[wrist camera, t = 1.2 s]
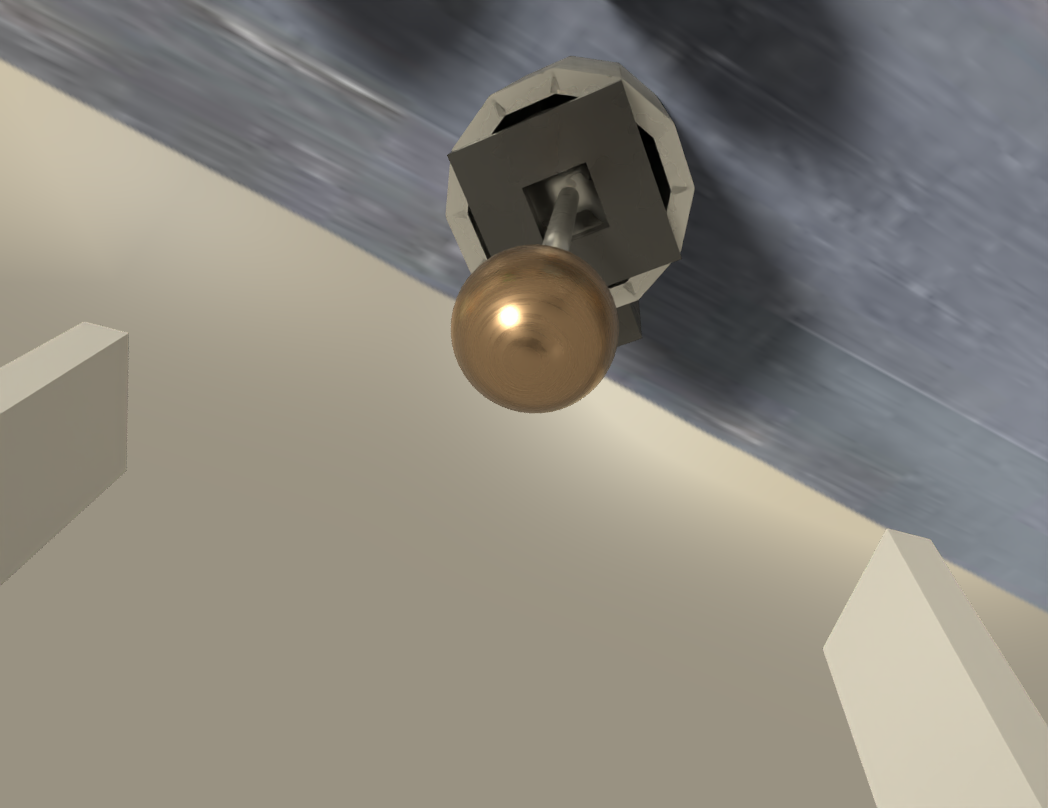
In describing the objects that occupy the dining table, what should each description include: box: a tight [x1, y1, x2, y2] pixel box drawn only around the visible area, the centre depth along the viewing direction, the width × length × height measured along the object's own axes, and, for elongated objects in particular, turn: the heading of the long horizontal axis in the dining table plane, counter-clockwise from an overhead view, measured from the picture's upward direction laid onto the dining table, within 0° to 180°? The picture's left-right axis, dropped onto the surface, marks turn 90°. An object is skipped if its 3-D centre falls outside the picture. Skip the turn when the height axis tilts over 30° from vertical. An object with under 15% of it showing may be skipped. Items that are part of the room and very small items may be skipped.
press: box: [446, 56, 695, 347], centre depth 43 cm, size 11×14×17 cm
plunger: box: [451, 107, 619, 413], centre depth 28 cm, size 8×8×21 cm
